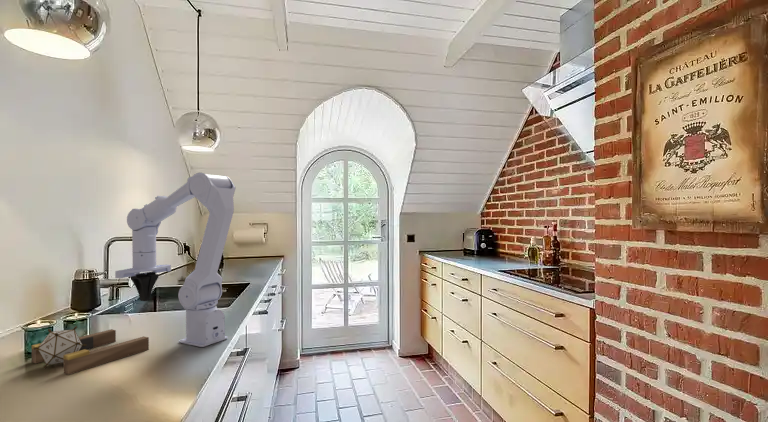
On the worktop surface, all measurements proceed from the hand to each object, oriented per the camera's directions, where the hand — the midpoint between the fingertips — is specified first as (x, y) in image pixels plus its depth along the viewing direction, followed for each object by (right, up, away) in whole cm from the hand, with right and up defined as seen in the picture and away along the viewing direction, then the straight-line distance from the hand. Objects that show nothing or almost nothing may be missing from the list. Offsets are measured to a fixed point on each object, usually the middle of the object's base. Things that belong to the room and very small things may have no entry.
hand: (144, 300), depth 111 cm
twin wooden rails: (-2, -9, -17) cm, 19 cm away
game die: (-6, -10, -22) cm, 25 cm away
